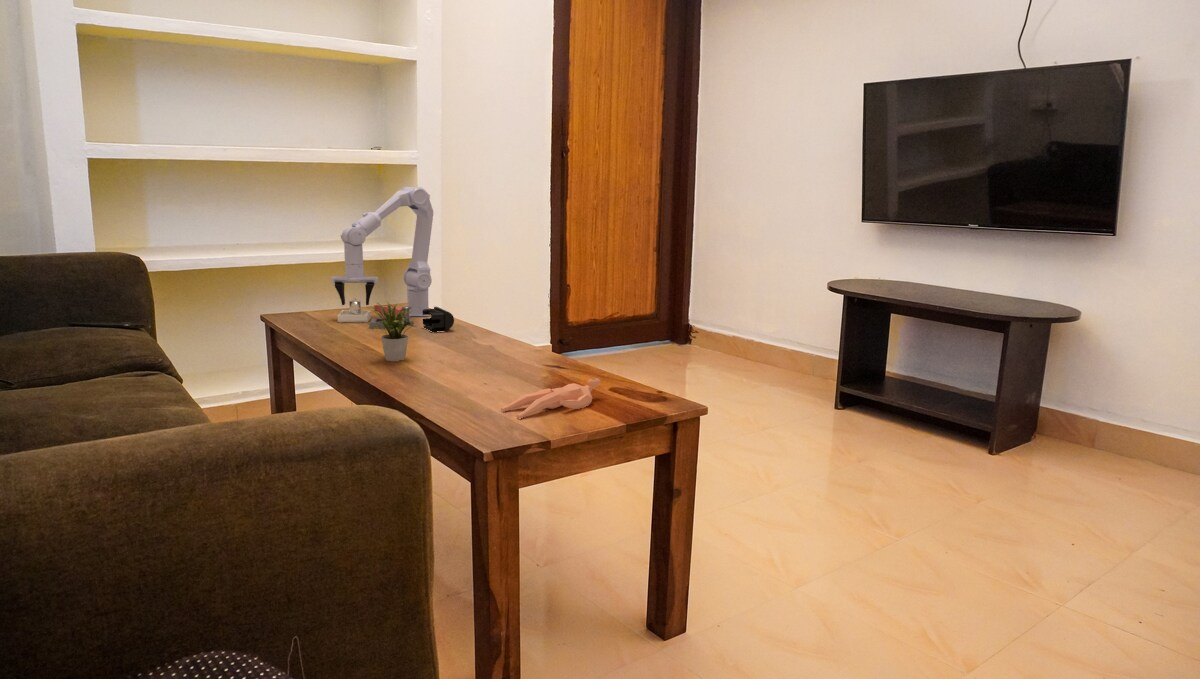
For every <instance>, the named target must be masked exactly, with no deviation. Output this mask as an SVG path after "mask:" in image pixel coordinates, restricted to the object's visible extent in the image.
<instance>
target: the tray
mask: <svg viewBox="0 0 1200 679" xmlns="http://www.w3.org/2000/svg"><path fill="white" fill-rule="evenodd" d="M336 316H337V323H338V322H339V324H342V322H356V323H355V324H357V323H358V324H359V322H360V324H364V323H365V324H366V323H367V322H368V323H369V321H371V320H370V319H372V310H370V309H366V310H365V309H364V310H363V309H361V315H350V309H342V310H340V312H339V313H338V314H337V315H336ZM362 322H364V323H362ZM368 323H367V324H368Z"/></svg>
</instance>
